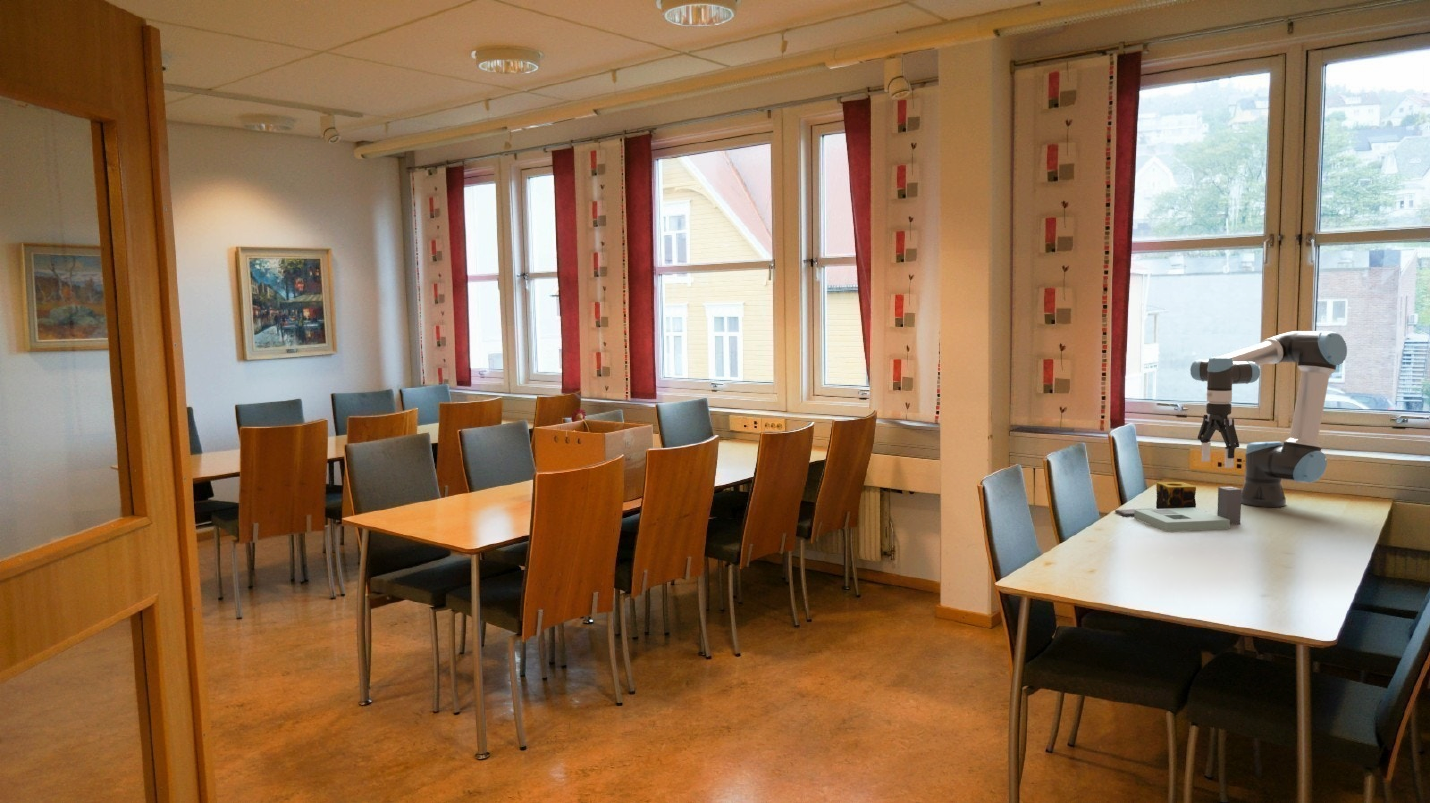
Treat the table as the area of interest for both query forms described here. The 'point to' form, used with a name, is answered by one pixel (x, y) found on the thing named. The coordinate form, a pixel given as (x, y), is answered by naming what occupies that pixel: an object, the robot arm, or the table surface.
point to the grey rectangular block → (1229, 504)
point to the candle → (1175, 495)
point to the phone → (1127, 512)
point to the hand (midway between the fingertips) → (1217, 464)
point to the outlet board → (1182, 519)
